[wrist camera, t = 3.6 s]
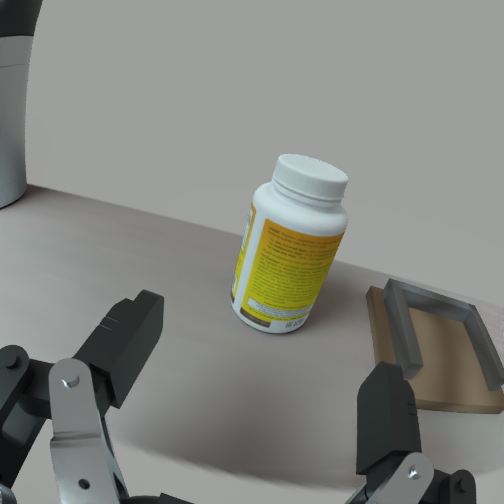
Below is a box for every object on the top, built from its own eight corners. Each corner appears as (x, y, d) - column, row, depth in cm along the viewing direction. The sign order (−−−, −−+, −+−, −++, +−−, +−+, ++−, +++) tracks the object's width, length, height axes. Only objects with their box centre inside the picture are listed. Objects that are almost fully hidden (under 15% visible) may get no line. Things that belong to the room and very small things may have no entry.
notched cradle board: (379, 403, 16) (401, 379, 14) (366, 294, 25) (378, 271, 24) (499, 413, 15) (520, 394, 14) (466, 323, 24) (479, 304, 23)
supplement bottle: (320, 327, 21) (382, 191, 15) (249, 345, 18) (302, 183, 13) (281, 278, 25) (322, 154, 19) (216, 286, 22) (246, 144, 17)
